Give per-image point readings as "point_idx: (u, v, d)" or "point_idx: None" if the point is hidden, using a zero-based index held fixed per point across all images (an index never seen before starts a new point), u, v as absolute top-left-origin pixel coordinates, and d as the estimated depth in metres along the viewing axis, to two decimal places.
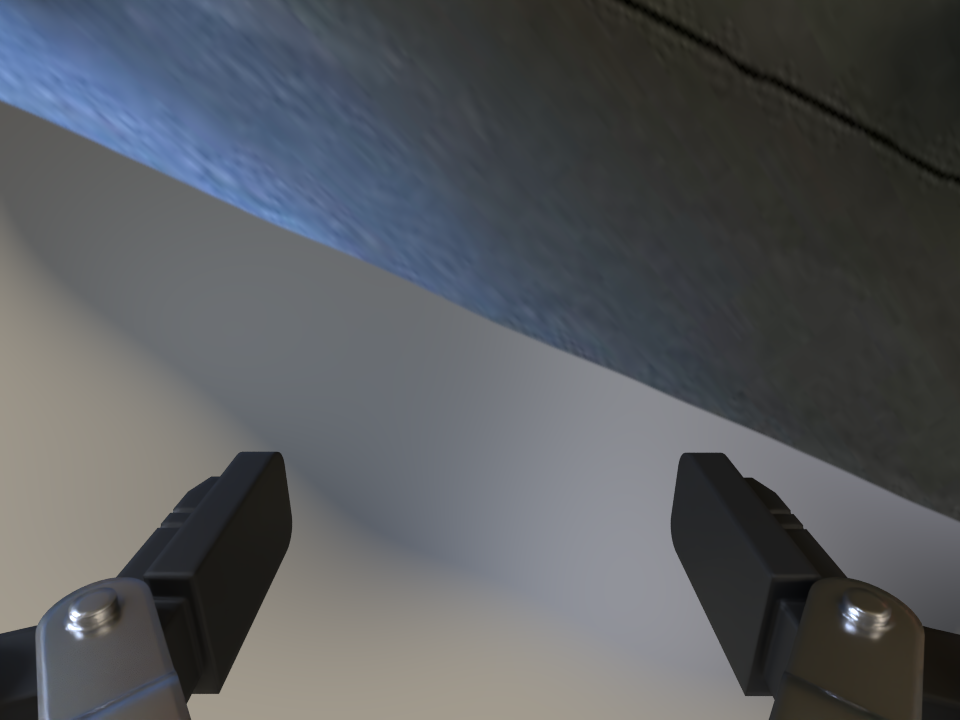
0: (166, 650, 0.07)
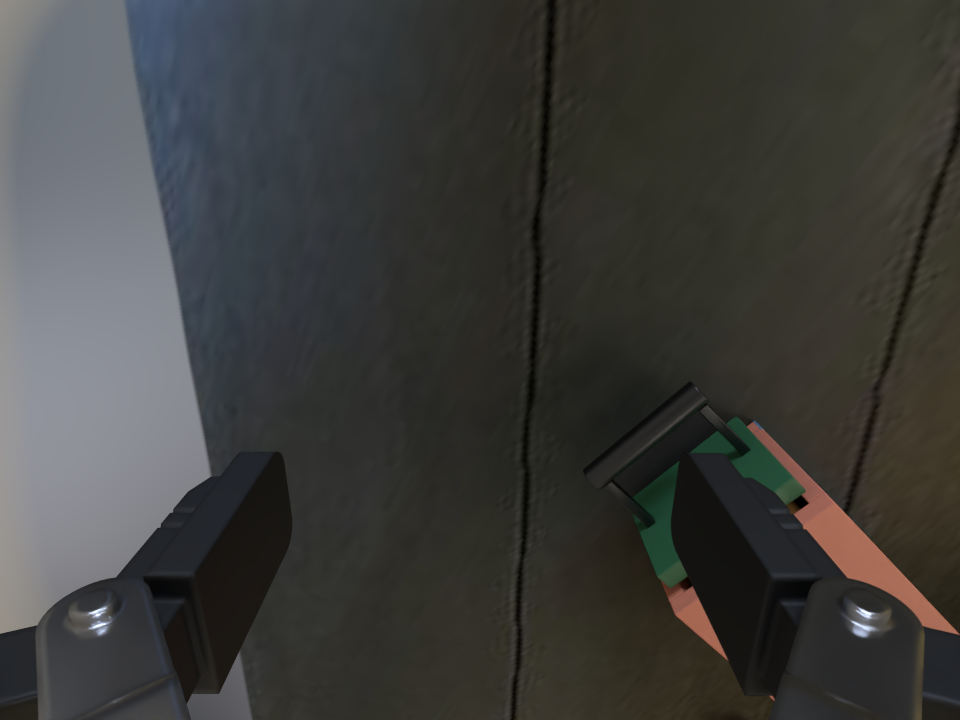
0: (166, 650, 0.07)
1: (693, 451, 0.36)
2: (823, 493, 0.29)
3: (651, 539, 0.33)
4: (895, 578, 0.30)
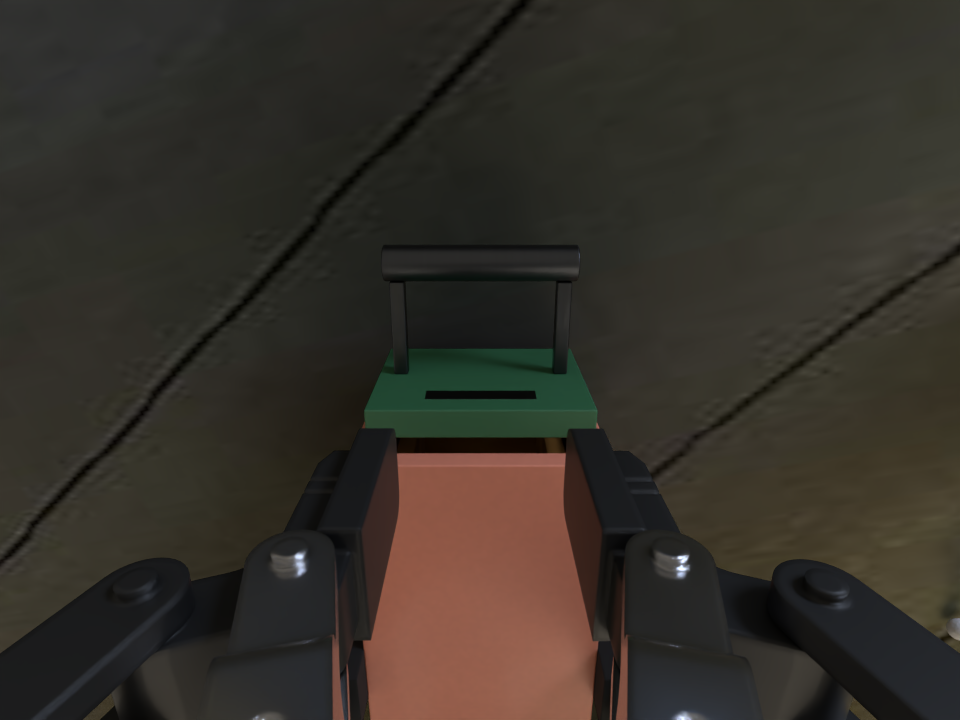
0: (334, 611, 0.07)
1: (501, 349, 0.28)
2: None
3: (389, 382, 0.24)
4: None
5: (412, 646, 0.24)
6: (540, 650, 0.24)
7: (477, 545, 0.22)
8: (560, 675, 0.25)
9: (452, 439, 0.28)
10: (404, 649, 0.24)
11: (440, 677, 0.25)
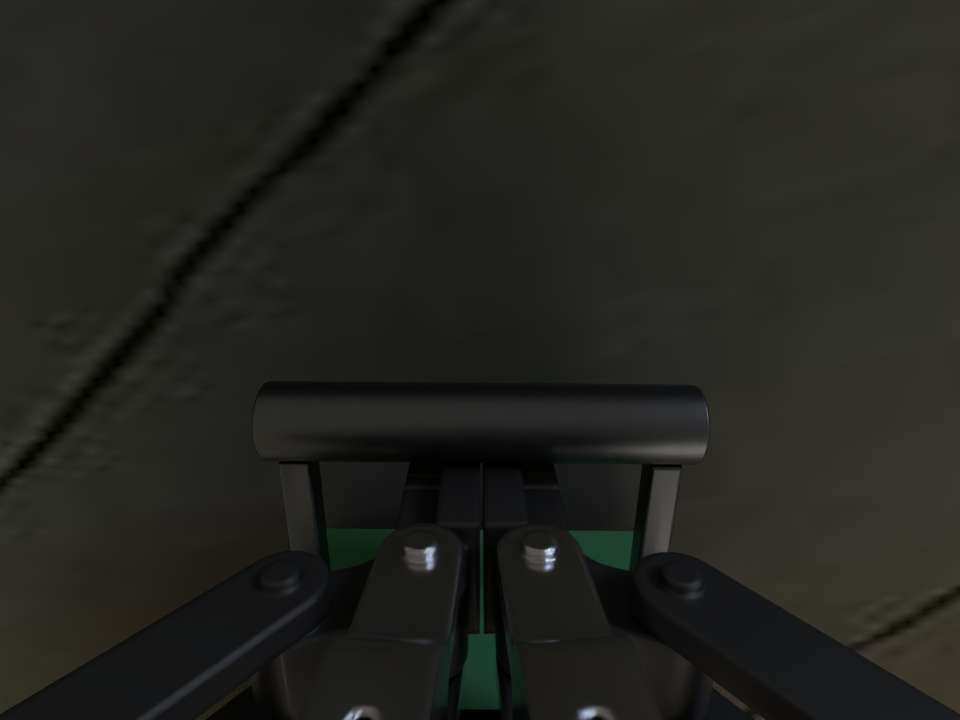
0: (451, 615, 0.07)
1: None
2: None
3: None
4: None
5: None
6: None
7: None
8: None
9: None
10: None
11: None
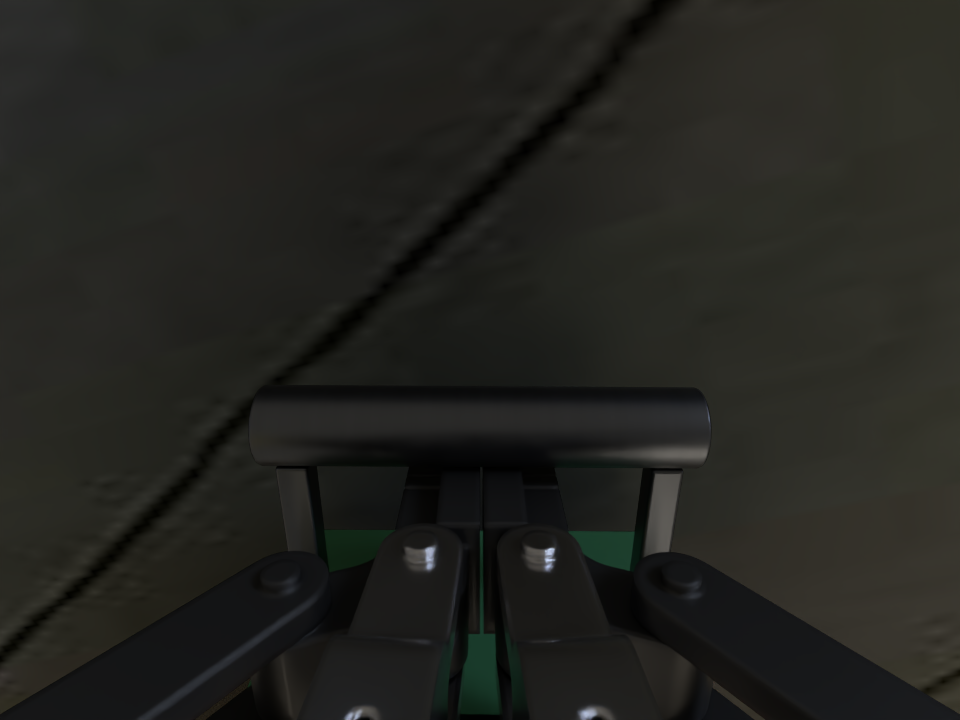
0: (451, 615, 0.07)
1: None
2: None
3: None
4: None
5: None
6: None
7: None
8: None
9: None
10: None
11: None
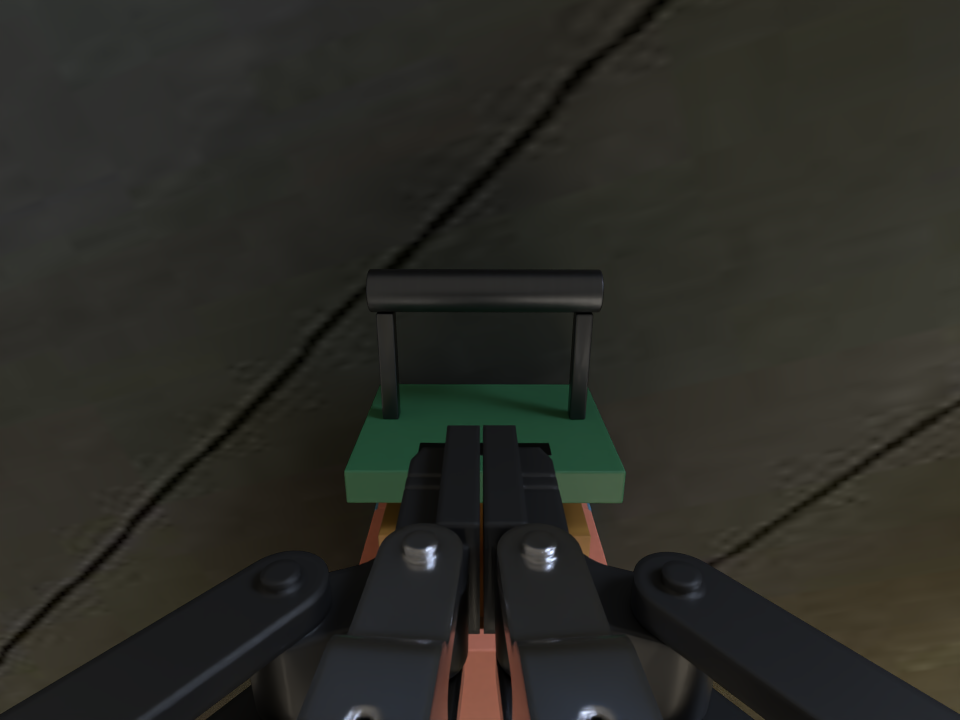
0: (451, 615, 0.07)
1: (508, 385, 0.24)
2: None
3: (376, 431, 0.20)
4: None
5: None
6: None
7: None
8: None
9: None
10: None
11: None
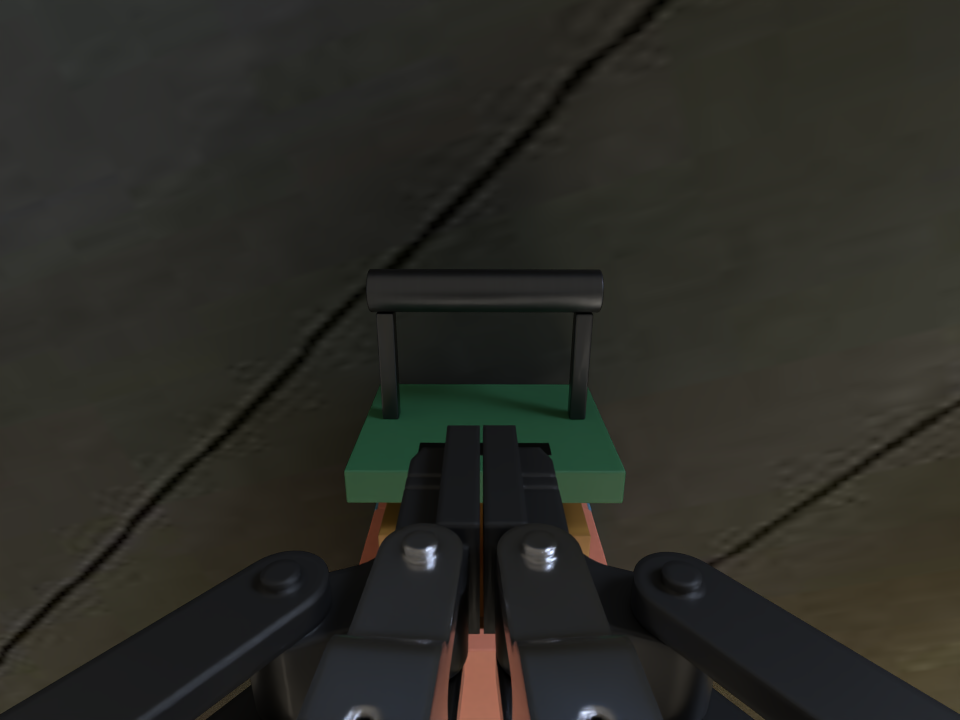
0: (451, 615, 0.07)
1: (507, 385, 0.24)
2: None
3: (376, 431, 0.20)
4: None
5: None
6: None
7: None
8: None
9: None
10: None
11: None
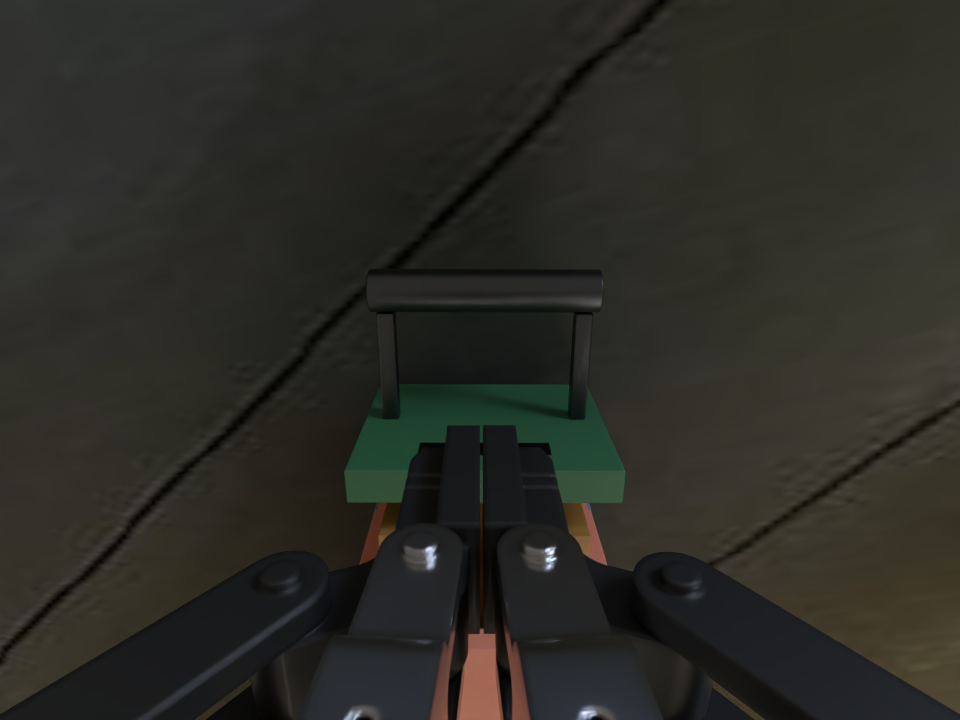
0: (451, 615, 0.07)
1: (507, 385, 0.24)
2: None
3: (376, 431, 0.20)
4: None
5: None
6: None
7: None
8: None
9: None
10: None
11: None
